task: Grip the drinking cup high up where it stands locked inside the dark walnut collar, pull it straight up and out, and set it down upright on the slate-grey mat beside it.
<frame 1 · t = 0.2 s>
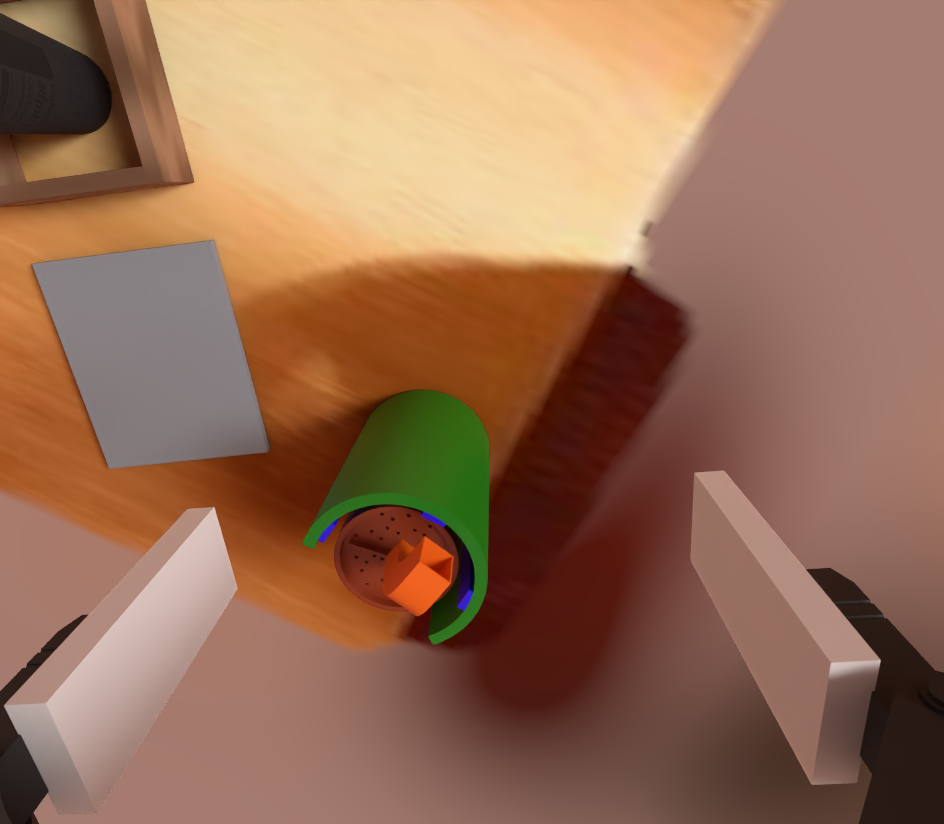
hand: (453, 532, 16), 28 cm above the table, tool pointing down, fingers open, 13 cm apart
drinking cup: (76, 92, 38), resting in walnut collar
slate mat: (160, 361, 44), on the table
walnut collar: (73, 91, 38), on the table
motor: (428, 443, 46), on the table
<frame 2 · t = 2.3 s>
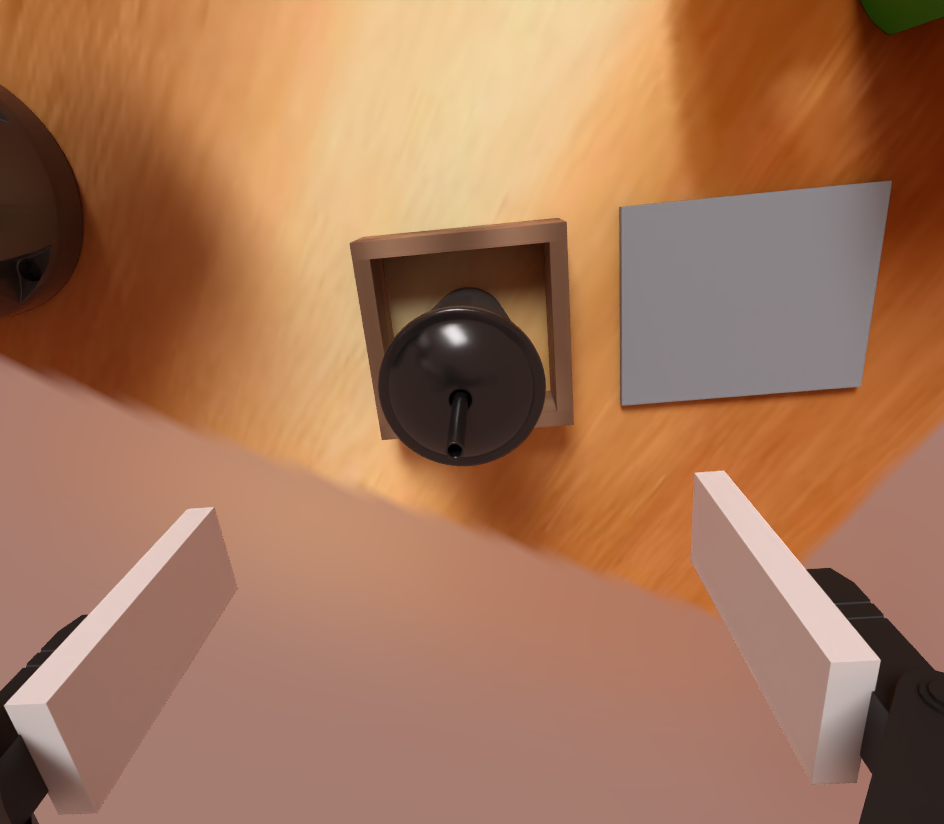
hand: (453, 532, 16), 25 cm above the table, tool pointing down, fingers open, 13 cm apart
drinking cup: (469, 323, 39), resting in walnut collar
slate mat: (743, 299, 38), on the table
walnut collar: (469, 324, 39), on the table
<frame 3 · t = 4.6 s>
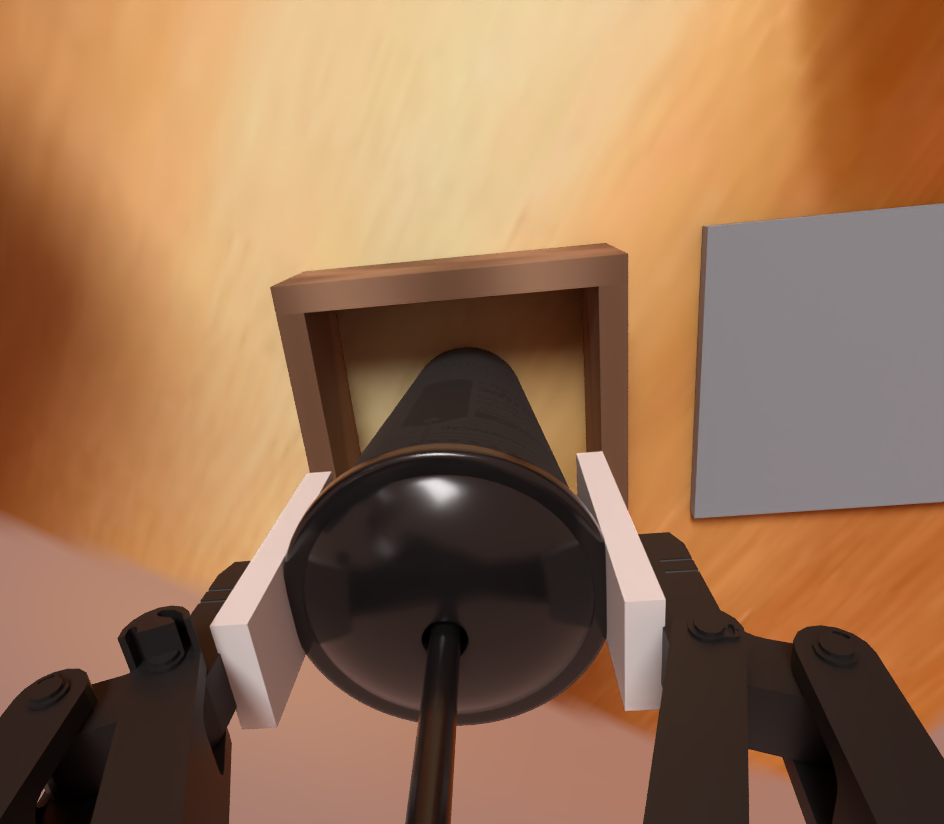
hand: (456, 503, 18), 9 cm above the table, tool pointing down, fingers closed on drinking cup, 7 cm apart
drinking cup: (467, 398, 26), resting in walnut collar, touching gripper
slate mat: (886, 366, 25), on the table
walnut collar: (467, 400, 26), on the table
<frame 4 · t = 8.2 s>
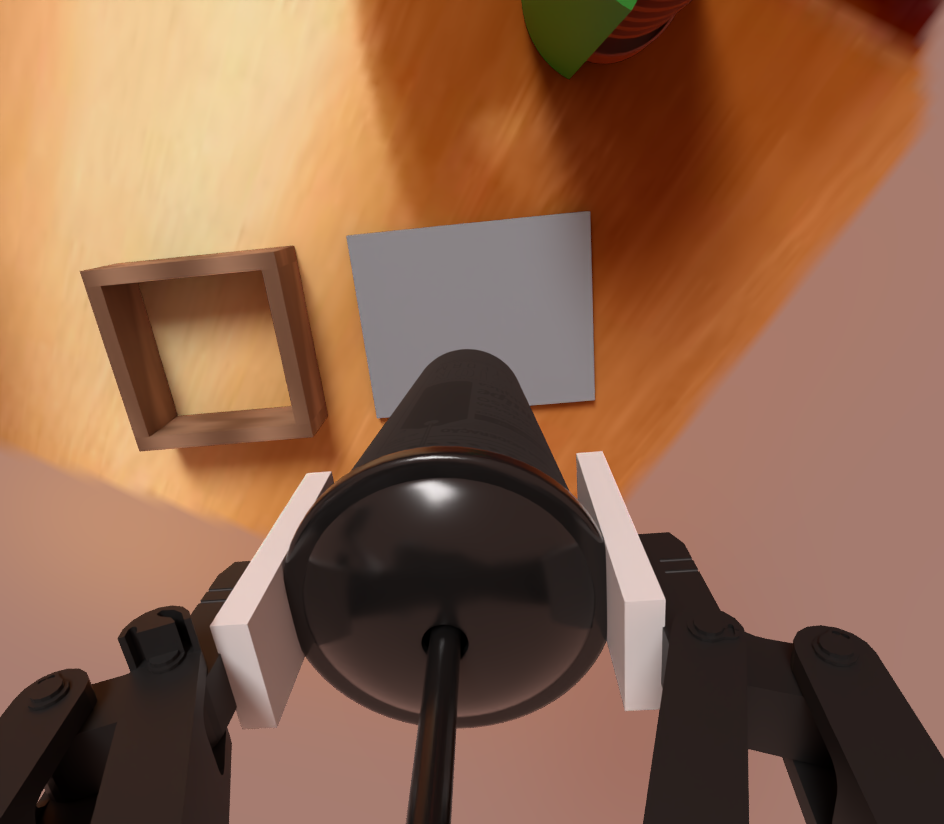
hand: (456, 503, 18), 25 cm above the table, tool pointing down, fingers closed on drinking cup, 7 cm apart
drinking cup: (467, 400, 26), point 16 cm above the table, touching gripper
slate mat: (476, 320, 41), on the table
walnut collar: (227, 342, 42), on the table
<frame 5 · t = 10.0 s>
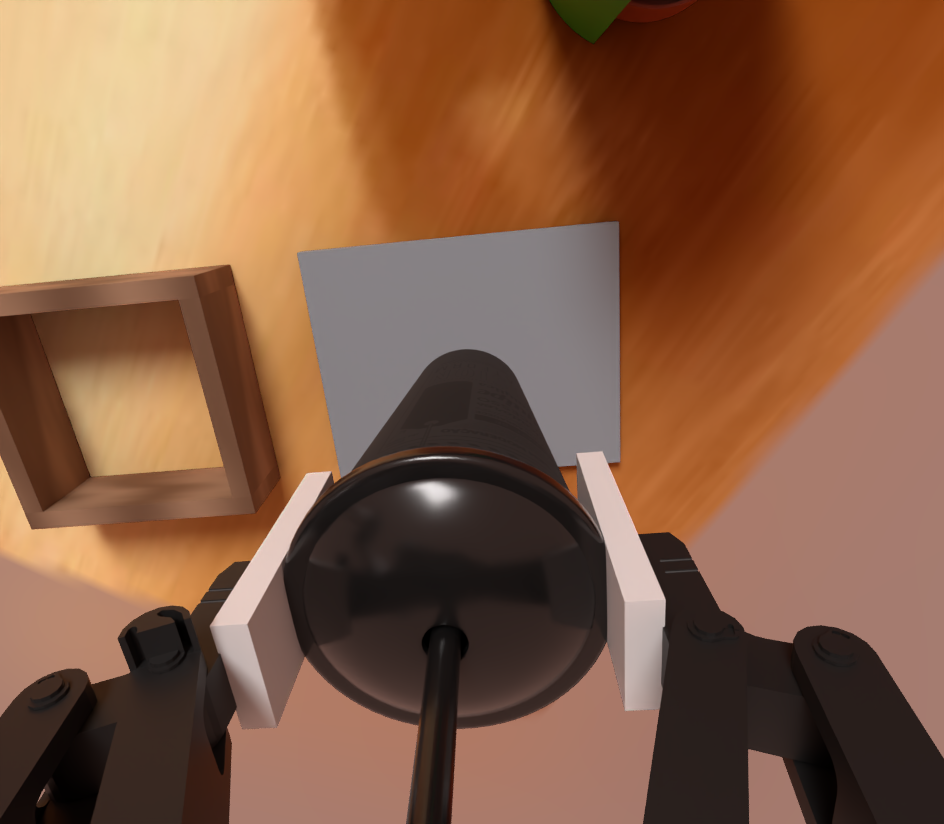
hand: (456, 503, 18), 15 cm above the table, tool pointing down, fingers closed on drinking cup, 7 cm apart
drinking cup: (467, 400, 26), point 6 cm above the table, touching gripper
slate mat: (468, 360, 32), on the table
walnut collar: (148, 387, 33), on the table
when the fingers open (10 cm above the table, at t = 11.8 s): drinking cup stays where it is, resting on slate mat.
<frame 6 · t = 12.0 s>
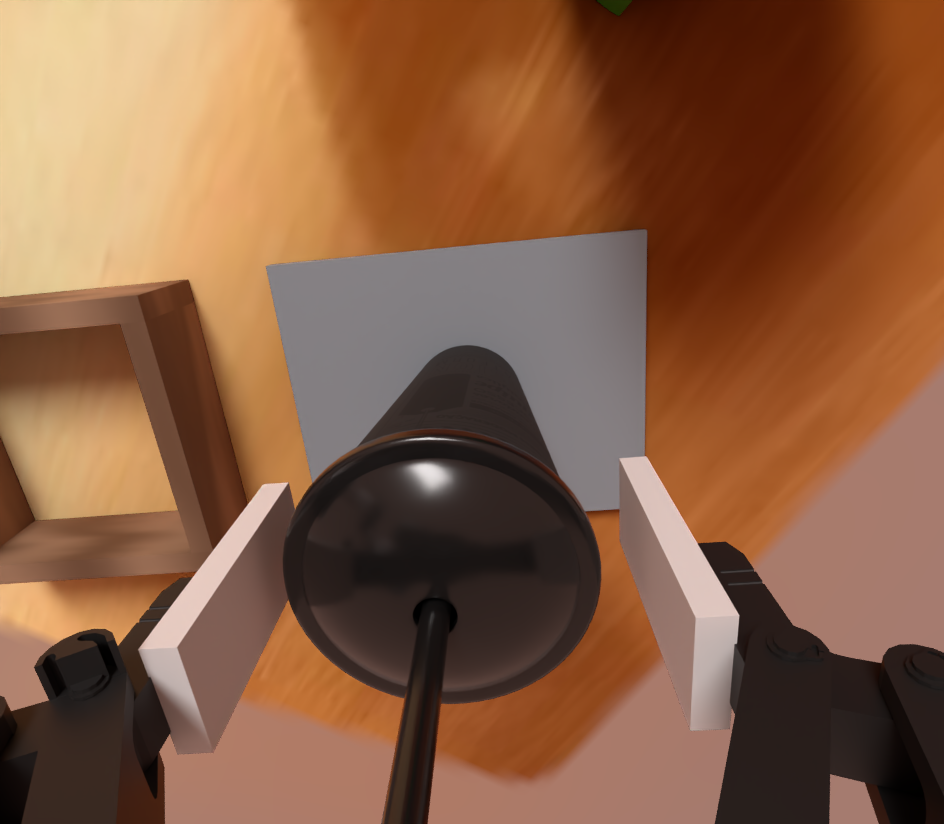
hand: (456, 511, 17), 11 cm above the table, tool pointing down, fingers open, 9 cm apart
drinking cup: (467, 395, 27), resting on slate mat
slate mat: (468, 390, 27), on the table
walnut collar: (98, 420, 28), on the table
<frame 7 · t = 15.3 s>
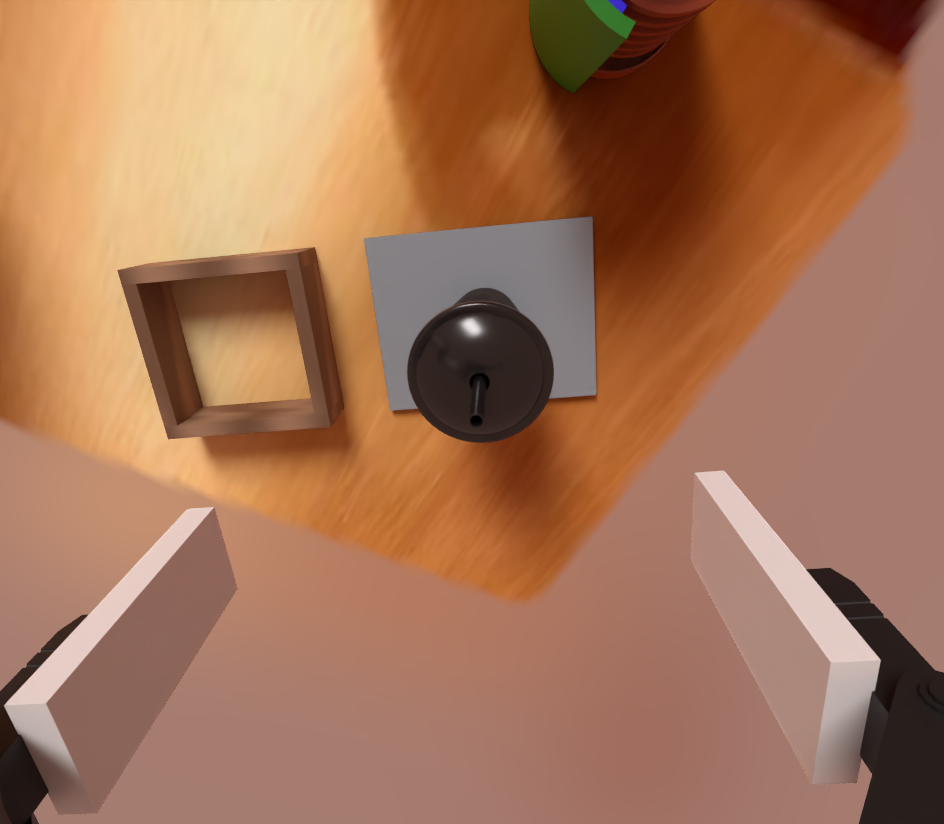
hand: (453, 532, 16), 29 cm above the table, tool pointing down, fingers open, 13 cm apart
drinking cup: (484, 320, 43), resting on slate mat
slate mat: (484, 318, 44), on the table
walnut collar: (250, 338, 45), on the table
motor: (602, 4, 37), on the table
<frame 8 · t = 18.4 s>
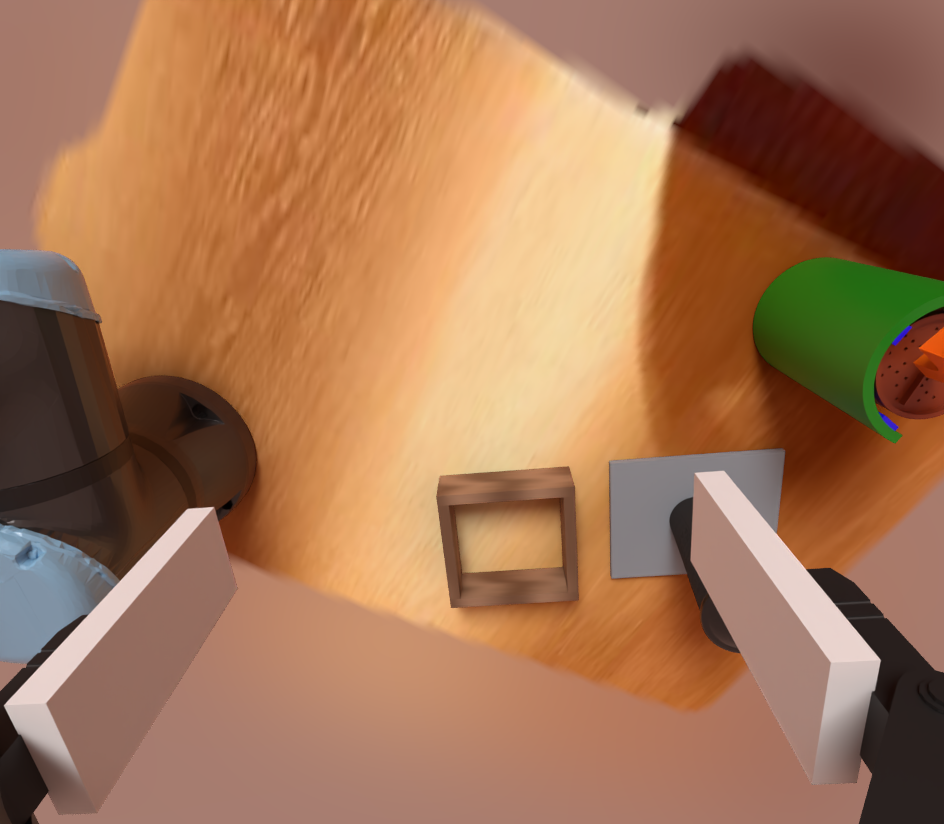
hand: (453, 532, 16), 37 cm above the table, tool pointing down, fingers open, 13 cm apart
drinking cup: (693, 517, 57), resting on slate mat
slate mat: (692, 514, 57), on the table
walnut collar: (508, 526, 58), on the table
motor: (806, 314, 50), on the table
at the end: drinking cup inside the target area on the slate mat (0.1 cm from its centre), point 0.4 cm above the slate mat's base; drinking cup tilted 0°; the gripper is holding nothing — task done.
